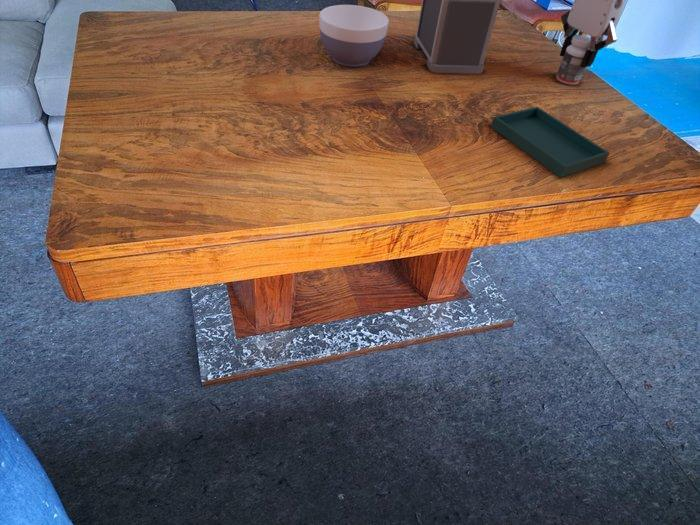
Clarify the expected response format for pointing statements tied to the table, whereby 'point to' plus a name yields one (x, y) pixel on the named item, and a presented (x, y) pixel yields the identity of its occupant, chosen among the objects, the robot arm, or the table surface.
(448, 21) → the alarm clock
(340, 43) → the bowl
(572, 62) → the pill bottle
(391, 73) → the table surface
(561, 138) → the tray
